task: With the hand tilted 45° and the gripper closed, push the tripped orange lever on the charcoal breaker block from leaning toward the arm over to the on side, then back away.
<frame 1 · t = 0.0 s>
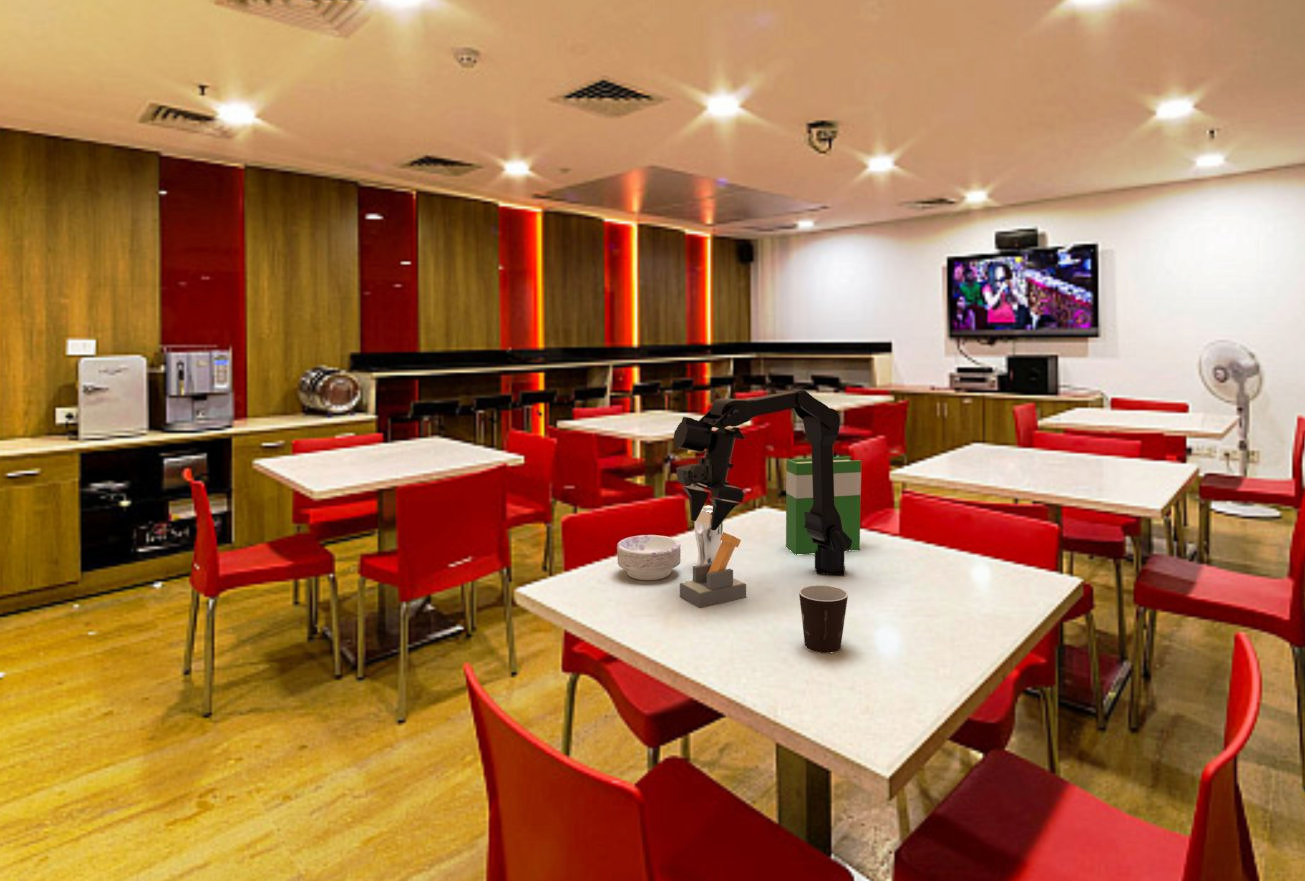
hand: (702, 525, 159), 15 cm above the table, tool pointing down, fingers open, 9 cm apart
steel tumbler: (709, 568, 179), on the table
breaker lever: (721, 558, 159), point 8 cm above the table, hinge at -30.0°
breaker block: (712, 596, 159), on the table
hardback book: (822, 549, 194), on the table
paper bowls: (649, 575, 175), on the table
coffee mug: (819, 649, 131), on the table
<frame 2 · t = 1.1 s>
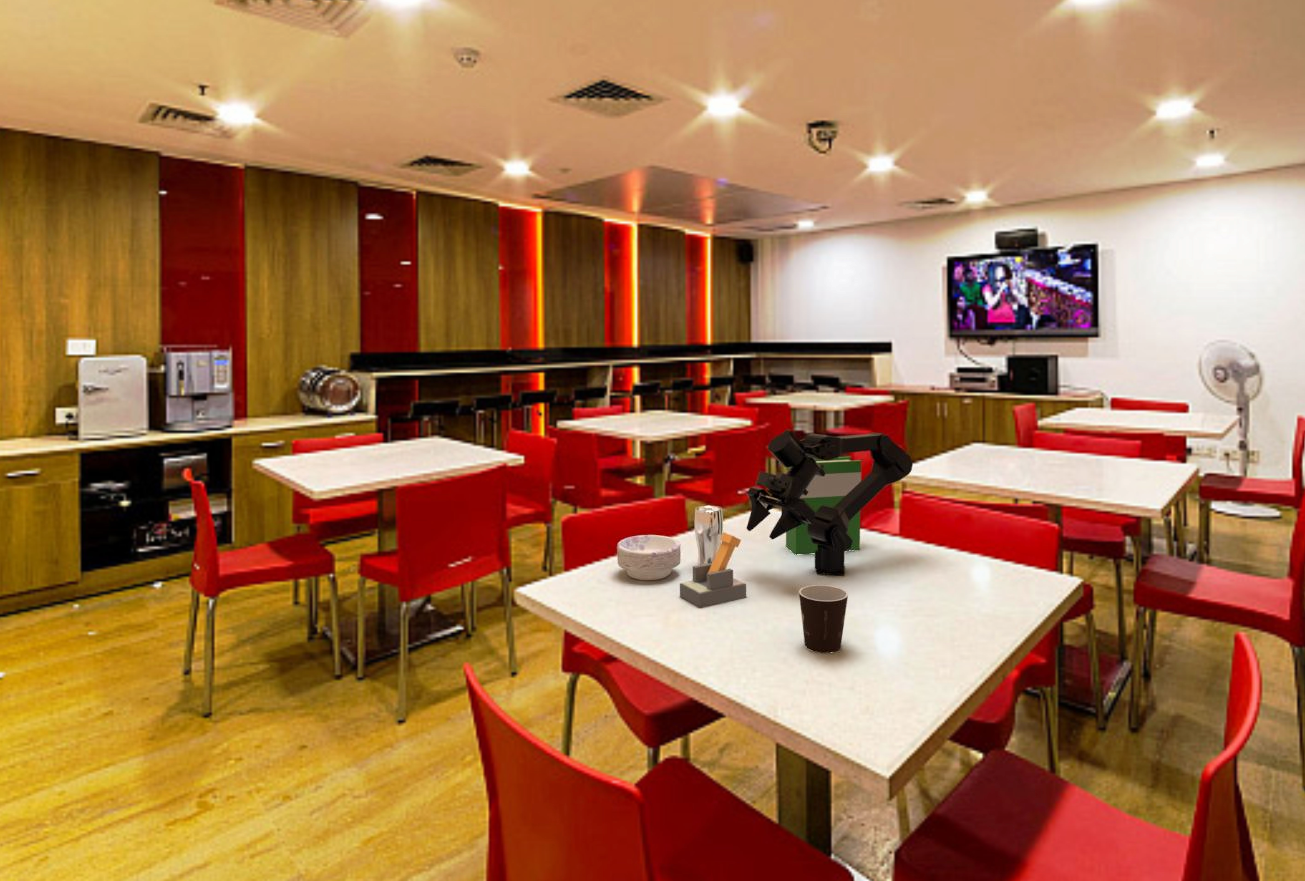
hand: (759, 534, 163), 12 cm above the table, tool tilted 45°, fingers open, 8 cm apart
nothing on the table moved.
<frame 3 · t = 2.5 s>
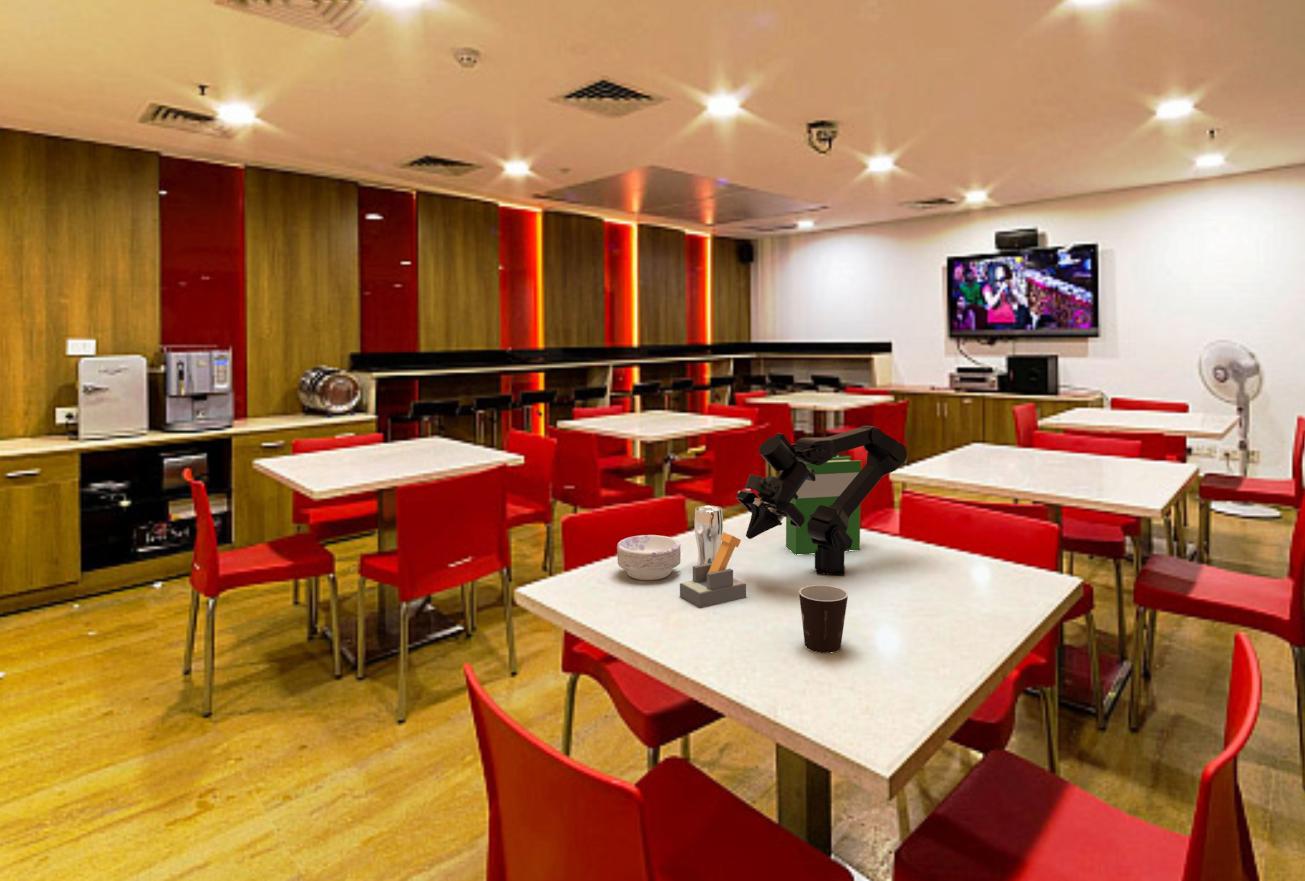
hand: (747, 537, 162), 12 cm above the table, tool tilted 45°, fingers closed
nothing on the table moved.
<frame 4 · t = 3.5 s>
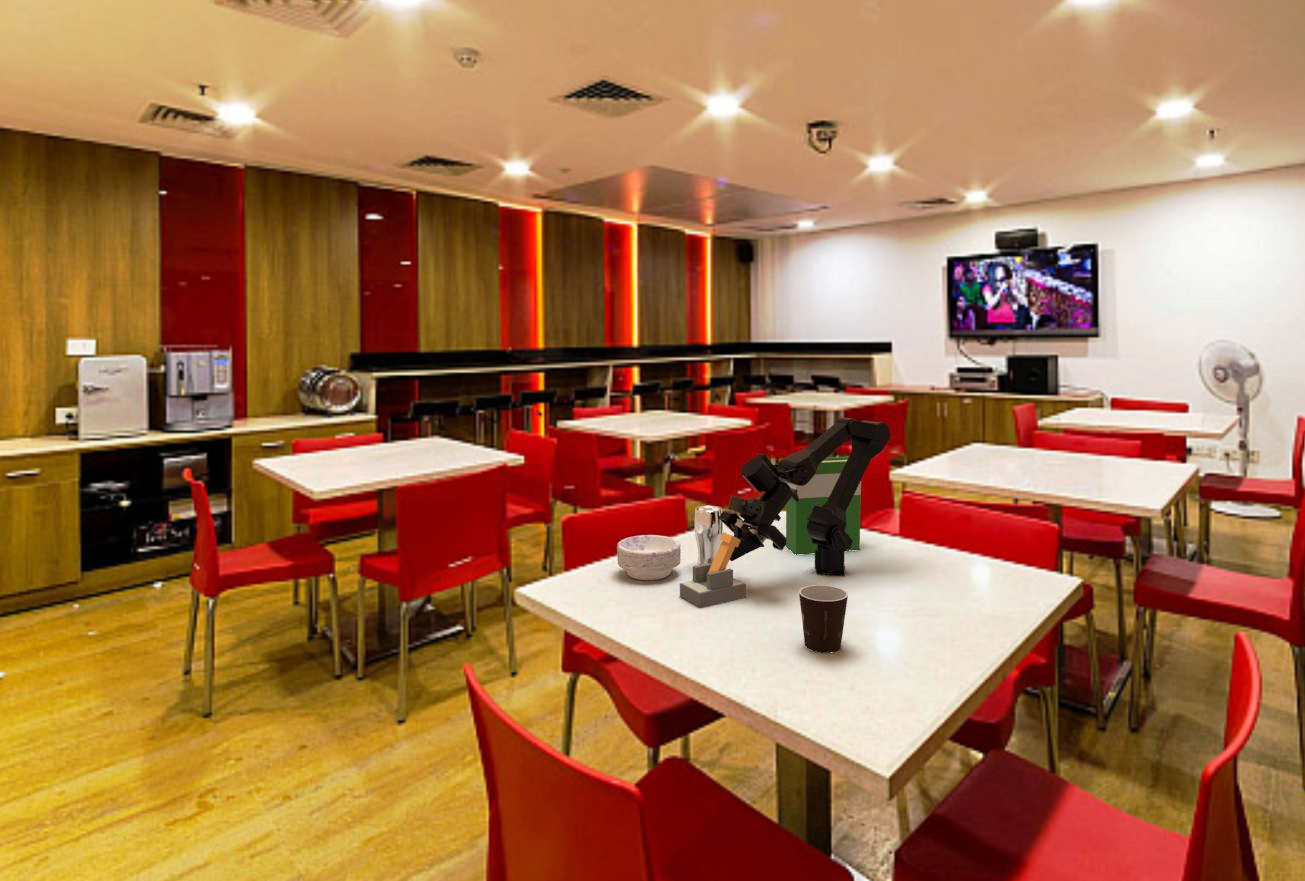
hand: (729, 559, 160), 8 cm above the table, tool tilted 45°, fingers closed, pressing on breaker lever
breaker lever: (721, 558, 159), point 8 cm above the table, hinge at -29.8°, touching gripper
everything else where it was.
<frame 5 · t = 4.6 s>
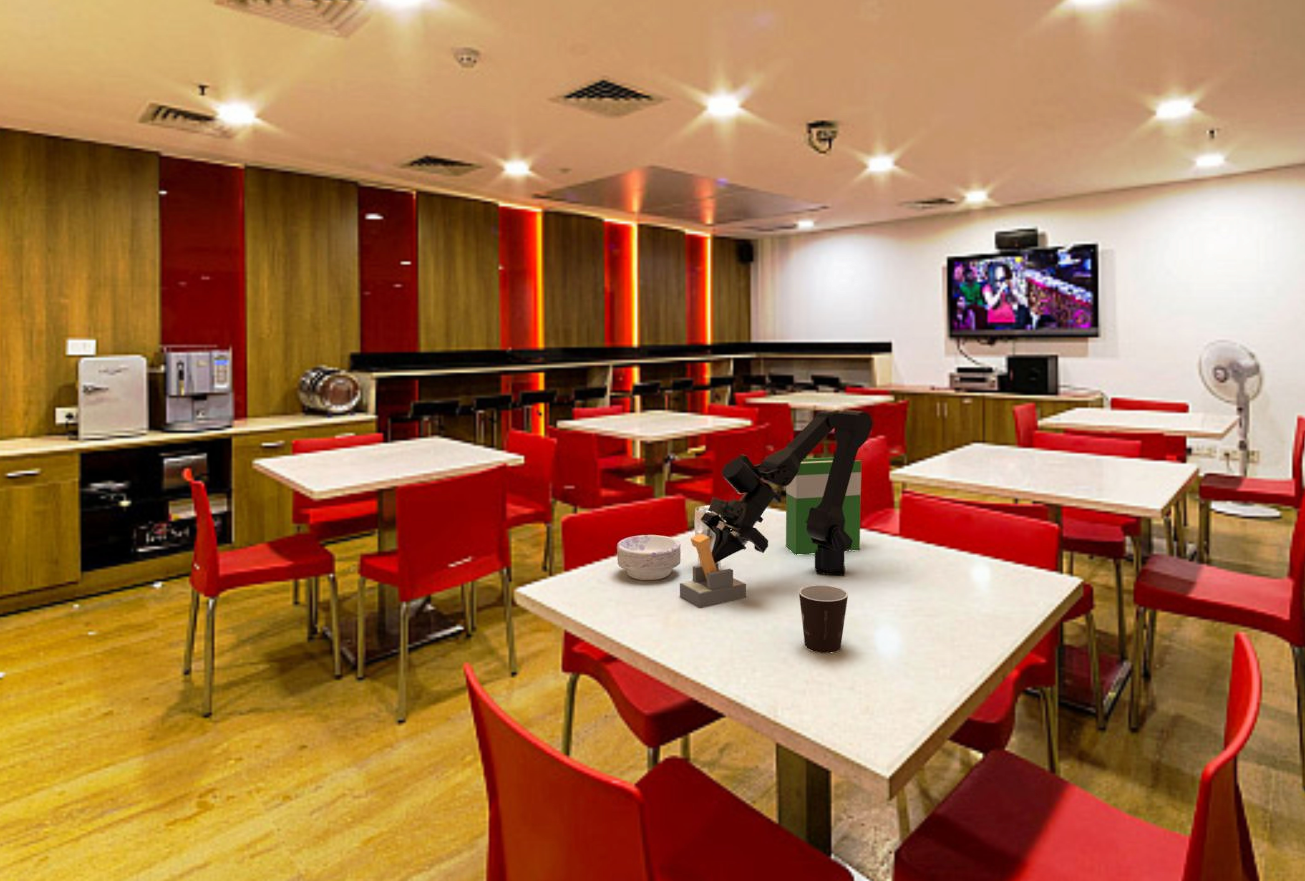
hand: (711, 562, 157), 8 cm above the table, tool tilted 45°, fingers closed, pressing on breaker lever
breaker lever: (706, 559, 157), point 9 cm above the table, hinge at 18.5°, touching gripper
everything else where it was.
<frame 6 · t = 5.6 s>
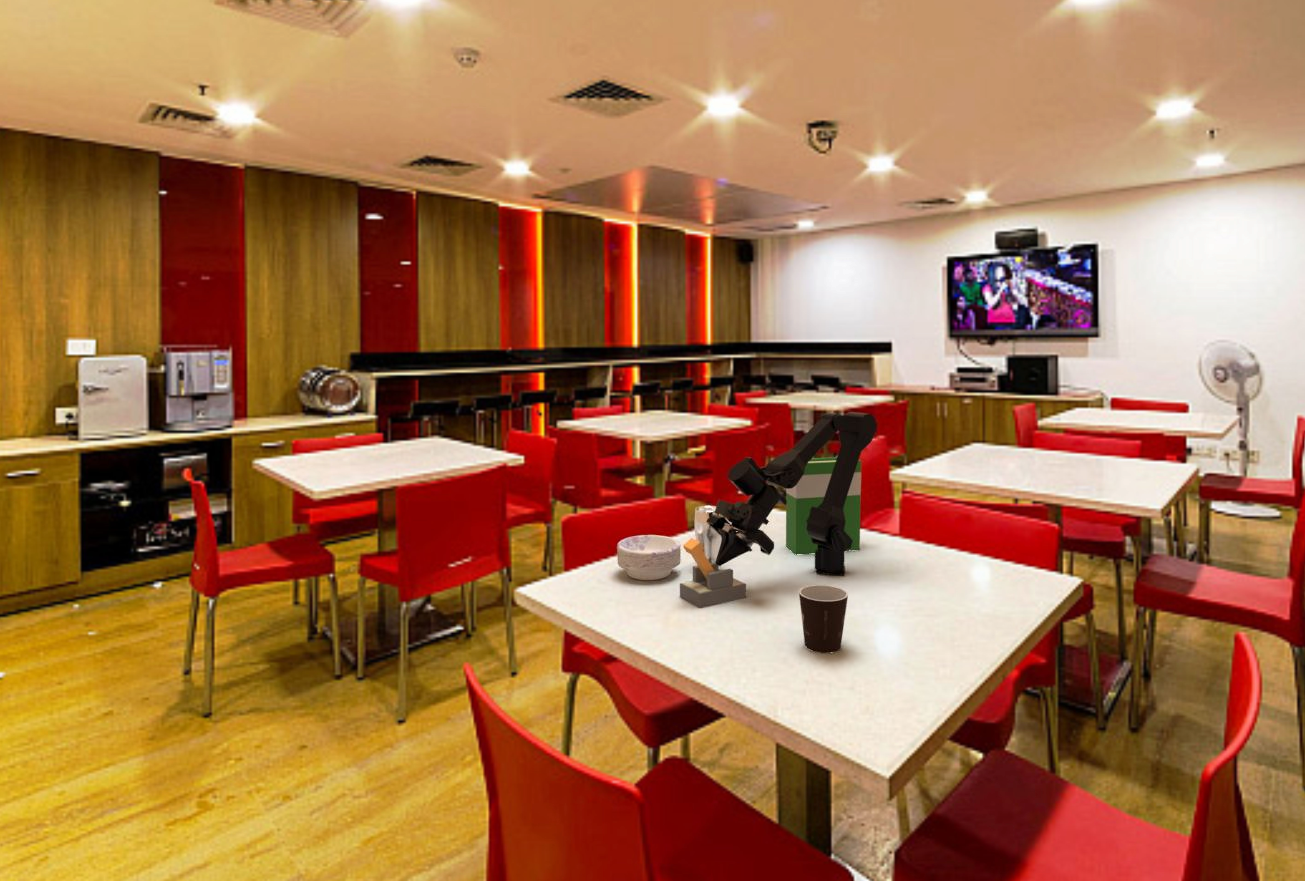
hand: (717, 564, 158), 7 cm above the table, tool tilted 45°, fingers closed
breaker lever: (702, 562, 156), point 8 cm above the table, hinge at 31.4°
everything else where it was.
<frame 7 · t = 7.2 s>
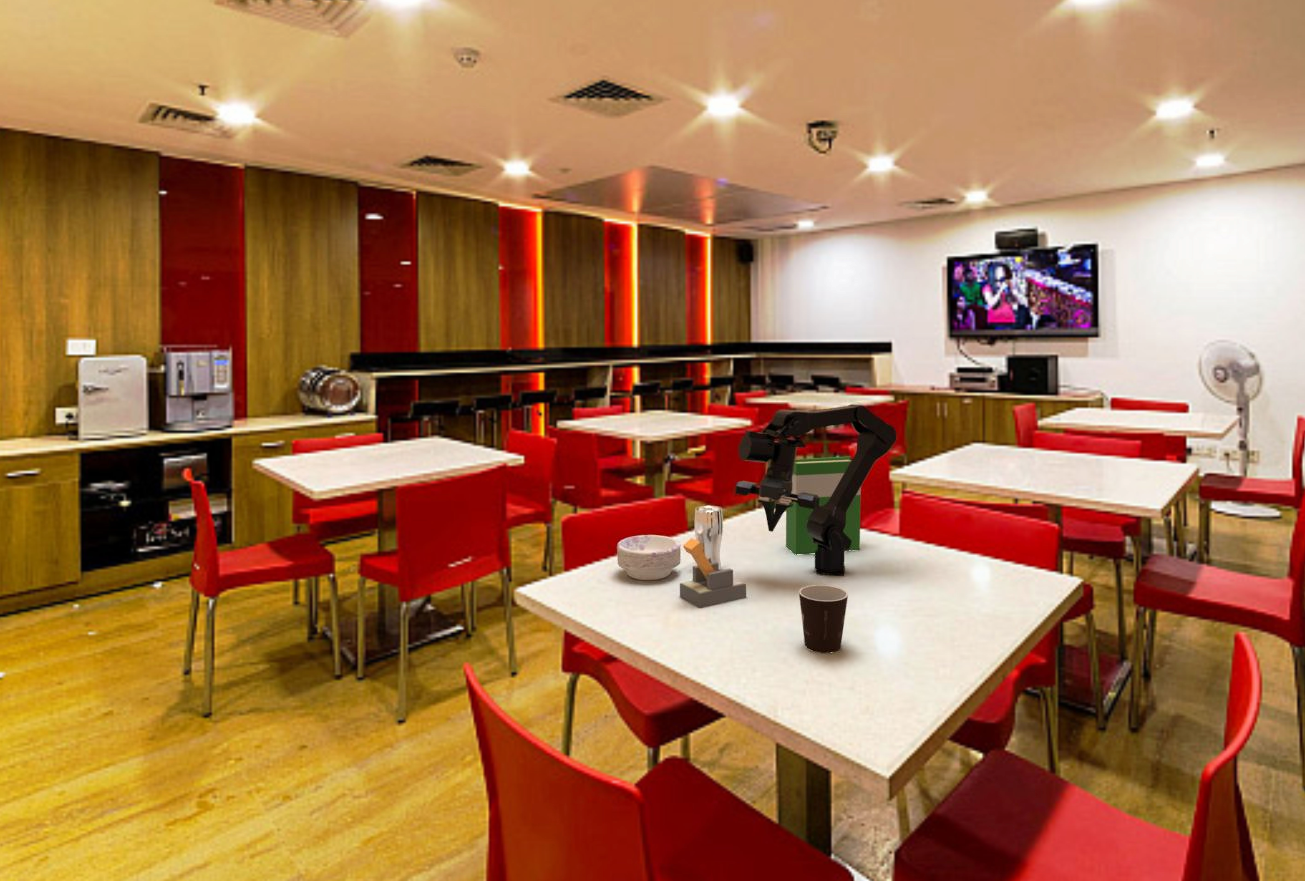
hand: (770, 531, 168), 12 cm above the table, tool pointing down, fingers closed
nothing on the table moved.
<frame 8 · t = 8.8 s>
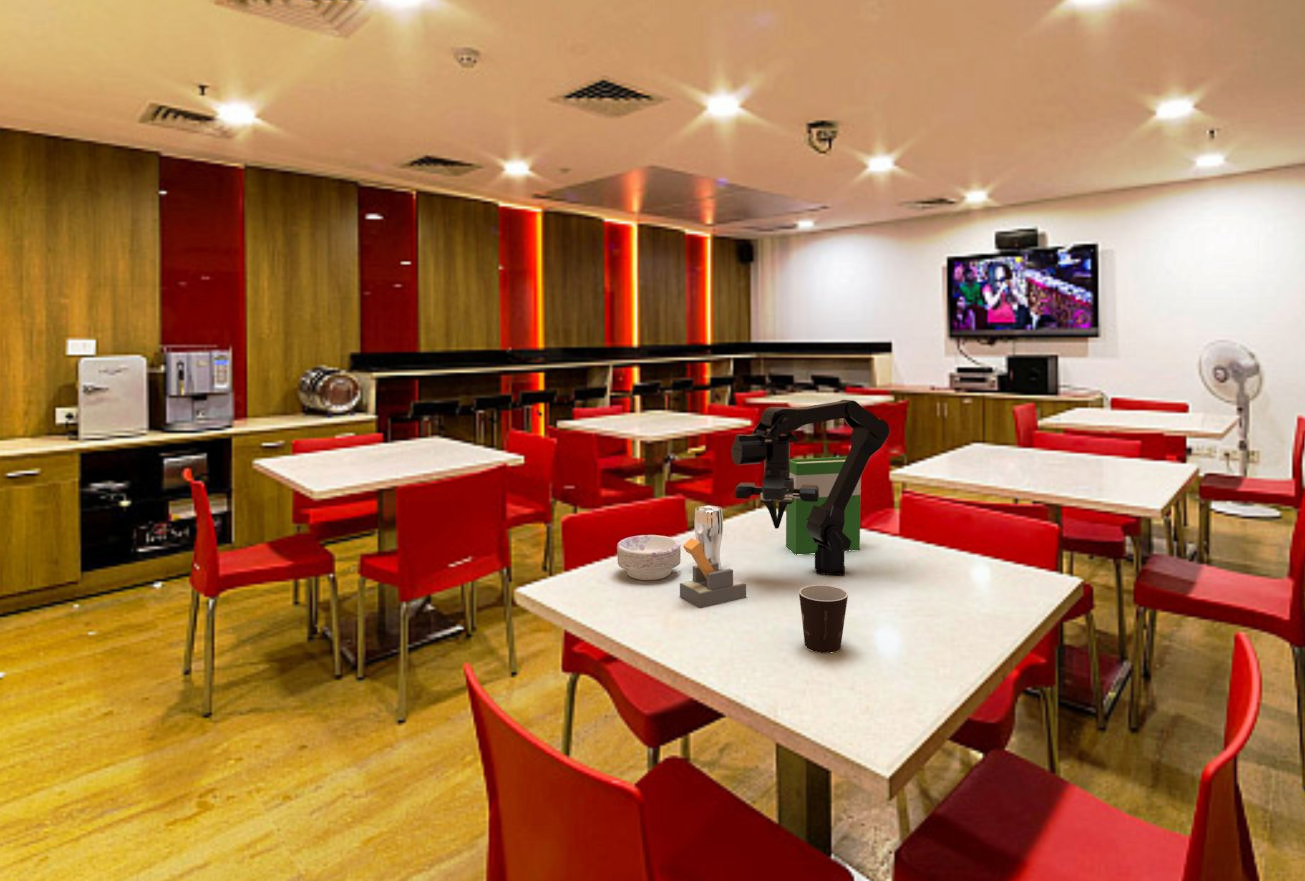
hand: (776, 528, 169), 12 cm above the table, tool pointing down, fingers closed
nothing on the table moved.
at the end: breaker lever at +31° (first picture: -30°); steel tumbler moved 0.2 cm from its start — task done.
